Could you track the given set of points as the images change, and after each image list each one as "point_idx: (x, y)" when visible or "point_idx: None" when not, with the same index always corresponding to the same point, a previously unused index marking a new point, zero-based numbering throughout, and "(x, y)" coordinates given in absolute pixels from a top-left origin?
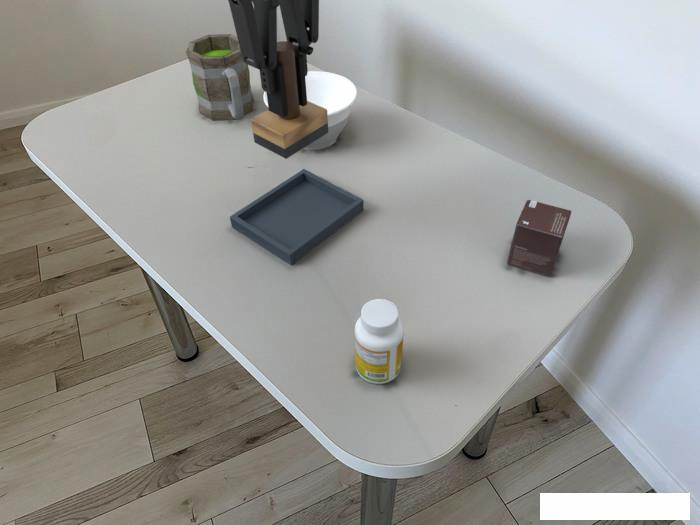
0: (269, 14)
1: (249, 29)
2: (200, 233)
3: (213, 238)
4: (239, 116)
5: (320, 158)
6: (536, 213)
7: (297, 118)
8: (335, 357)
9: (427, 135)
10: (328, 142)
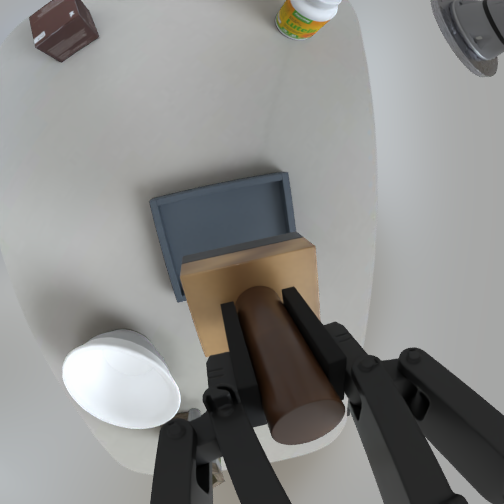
0: (443, 480)
1: (496, 413)
2: (323, 278)
3: (318, 263)
4: (195, 409)
5: (140, 316)
6: (51, 22)
7: (254, 283)
8: (318, 54)
9: (19, 275)
10: (121, 331)
